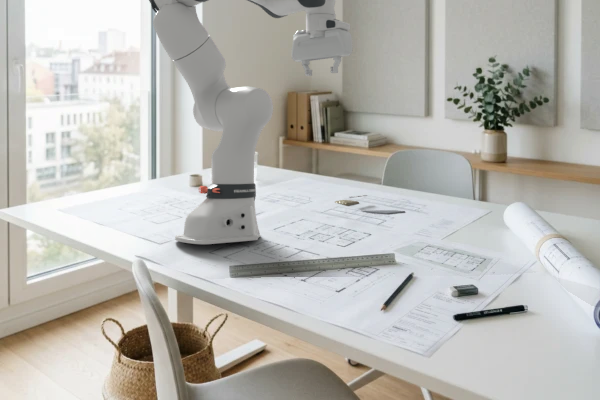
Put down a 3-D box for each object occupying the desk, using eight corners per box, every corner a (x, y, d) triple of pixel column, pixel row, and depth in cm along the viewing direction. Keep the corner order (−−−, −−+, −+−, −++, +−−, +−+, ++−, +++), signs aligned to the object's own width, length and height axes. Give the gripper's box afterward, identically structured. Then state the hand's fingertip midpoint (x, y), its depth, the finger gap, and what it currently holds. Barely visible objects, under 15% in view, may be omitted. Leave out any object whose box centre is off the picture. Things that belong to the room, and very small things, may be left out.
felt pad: (386, 214, 181) (386, 213, 181) (360, 212, 188) (360, 210, 188) (405, 212, 187) (405, 211, 187) (379, 210, 194) (379, 208, 194)
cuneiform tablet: (352, 197, 191) (326, 196, 200) (352, 211, 192) (326, 209, 201) (367, 195, 196) (341, 194, 205) (367, 209, 196) (341, 207, 205)
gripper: (286, 30, 182) (287, 76, 183) (343, 20, 169) (343, 70, 170) (299, 33, 187) (300, 78, 188) (355, 23, 174) (355, 72, 175)
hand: (321, 74), depth 179 cm, fingers open, 8 cm apart
